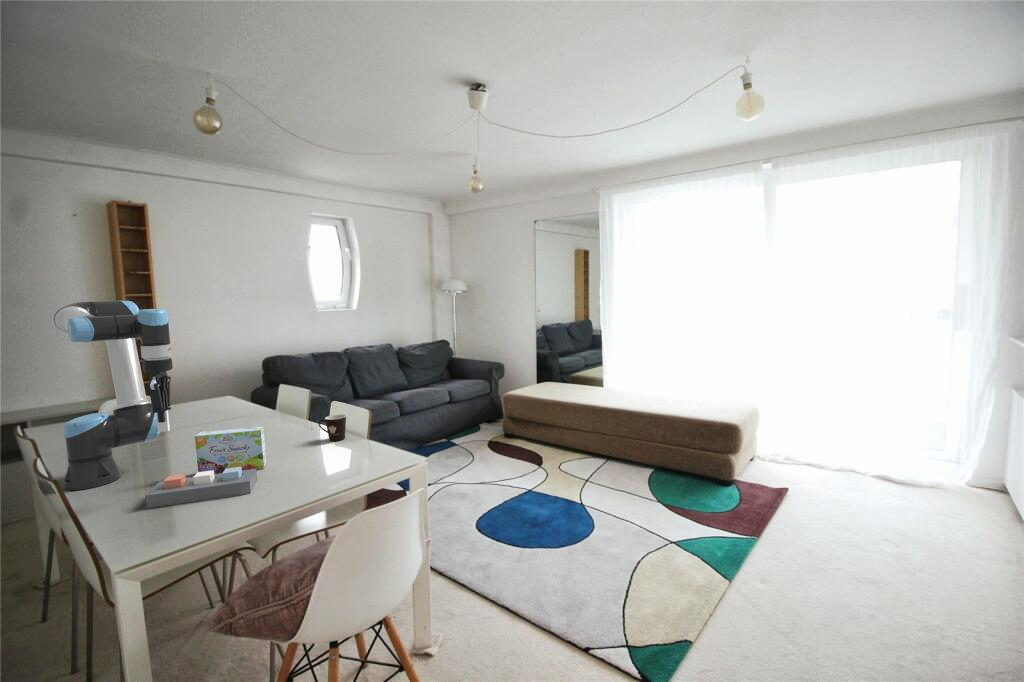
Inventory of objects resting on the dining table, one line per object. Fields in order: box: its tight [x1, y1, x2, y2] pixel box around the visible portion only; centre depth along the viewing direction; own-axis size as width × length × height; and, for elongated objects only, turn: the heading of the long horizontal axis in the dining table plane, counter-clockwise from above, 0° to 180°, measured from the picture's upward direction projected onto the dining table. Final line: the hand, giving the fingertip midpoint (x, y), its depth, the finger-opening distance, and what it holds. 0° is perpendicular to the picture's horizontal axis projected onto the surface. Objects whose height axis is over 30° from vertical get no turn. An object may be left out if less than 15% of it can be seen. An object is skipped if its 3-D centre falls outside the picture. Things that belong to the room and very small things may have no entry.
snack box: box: [194, 426, 268, 474], centre depth 175 cm, size 21×6×15 cm, turn 105°
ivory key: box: [192, 470, 215, 485], centre depth 155 cm, size 5×5×4 cm
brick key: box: [162, 473, 187, 489], centre depth 152 cm, size 5×5×4 cm
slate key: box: [222, 467, 242, 481], centre depth 157 cm, size 5×5×4 cm
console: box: [145, 469, 258, 509], centre depth 155 cm, size 28×12×4 cm, turn 109°
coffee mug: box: [318, 414, 347, 443], centre depth 210 cm, size 12×9×10 cm
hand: (164, 431), depth 154 cm, fingers closed
